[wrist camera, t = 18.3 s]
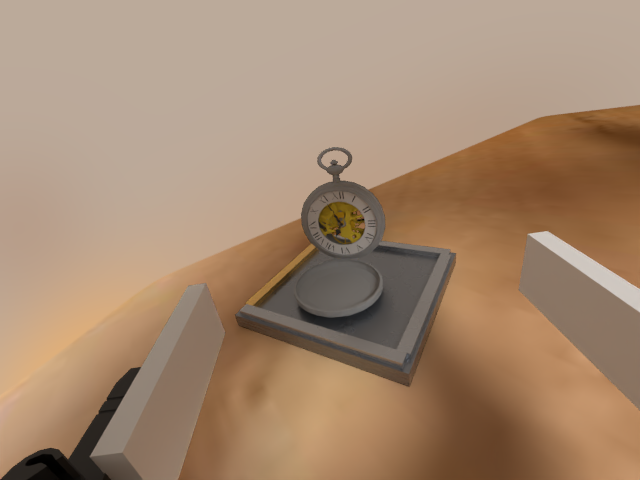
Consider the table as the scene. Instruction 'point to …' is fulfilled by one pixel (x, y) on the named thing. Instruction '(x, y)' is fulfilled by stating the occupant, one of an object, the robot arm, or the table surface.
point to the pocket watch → (340, 246)
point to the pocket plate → (368, 325)
